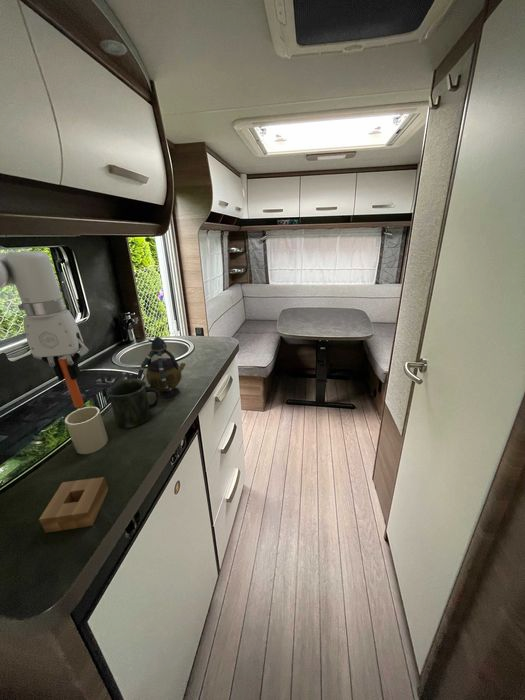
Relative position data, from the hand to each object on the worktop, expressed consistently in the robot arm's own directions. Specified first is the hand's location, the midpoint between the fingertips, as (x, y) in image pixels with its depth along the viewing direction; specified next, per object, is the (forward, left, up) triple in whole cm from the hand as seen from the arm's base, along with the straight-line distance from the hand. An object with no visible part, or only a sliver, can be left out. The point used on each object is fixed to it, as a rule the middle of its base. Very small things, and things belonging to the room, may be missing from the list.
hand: (69, 377), depth 71 cm
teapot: (+18, +28, -22) cm, 40 cm away
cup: (0, 0, -22) cm, 22 cm away
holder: (+6, -22, -22) cm, 31 cm away
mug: (+10, +11, -22) cm, 27 cm away
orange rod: (0, 0, -9) cm, 9 cm away
